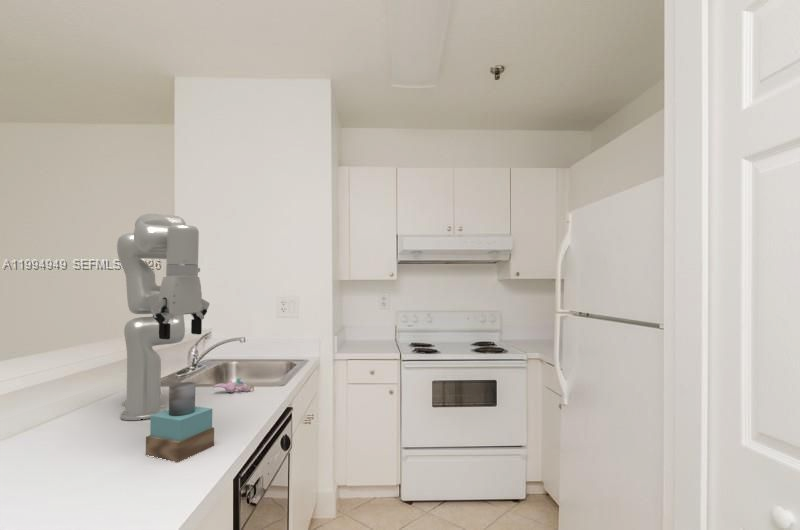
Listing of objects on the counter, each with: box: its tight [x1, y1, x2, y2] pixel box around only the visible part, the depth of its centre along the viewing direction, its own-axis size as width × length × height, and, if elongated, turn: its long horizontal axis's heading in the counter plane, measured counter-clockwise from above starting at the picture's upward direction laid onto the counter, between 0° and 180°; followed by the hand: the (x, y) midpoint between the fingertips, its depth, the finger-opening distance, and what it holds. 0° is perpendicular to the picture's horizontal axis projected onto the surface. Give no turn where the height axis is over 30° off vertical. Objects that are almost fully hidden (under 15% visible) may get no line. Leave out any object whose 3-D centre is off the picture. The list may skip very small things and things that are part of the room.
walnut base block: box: [145, 426, 215, 463], centre depth 108 cm, size 11×11×5 cm
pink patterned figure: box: [212, 377, 255, 394], centre depth 165 cm, size 6×6×15 cm
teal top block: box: [149, 405, 213, 441], centre depth 109 cm, size 10×10×5 cm
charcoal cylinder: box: [168, 381, 196, 416], centre depth 109 cm, size 6×6×7 cm
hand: (181, 336), depth 112 cm, fingers open, 9 cm apart
